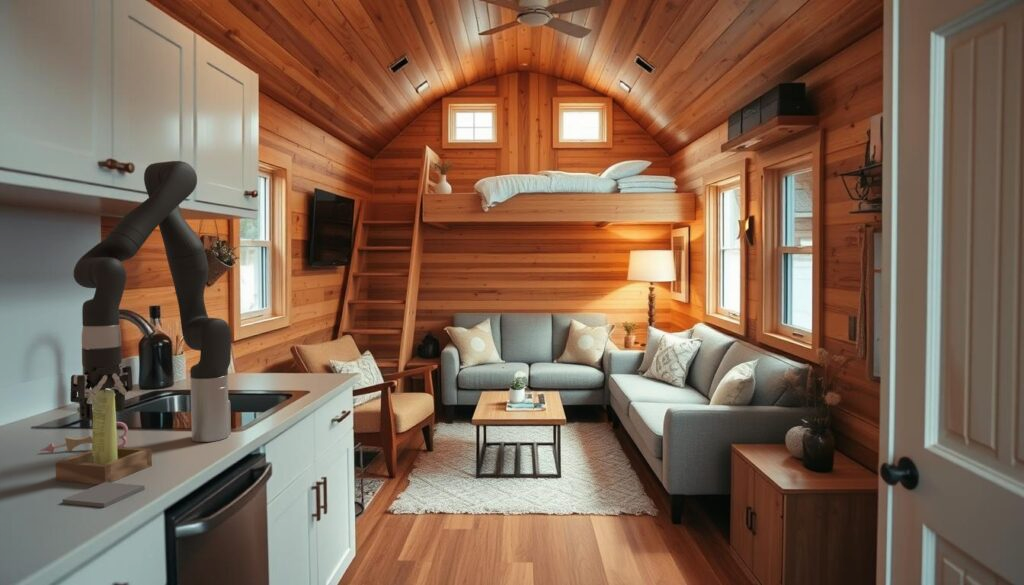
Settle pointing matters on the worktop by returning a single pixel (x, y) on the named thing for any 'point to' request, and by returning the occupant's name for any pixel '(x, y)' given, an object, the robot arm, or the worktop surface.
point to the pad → (103, 494)
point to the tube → (104, 428)
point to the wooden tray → (103, 466)
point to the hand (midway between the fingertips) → (103, 415)
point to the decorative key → (83, 441)
